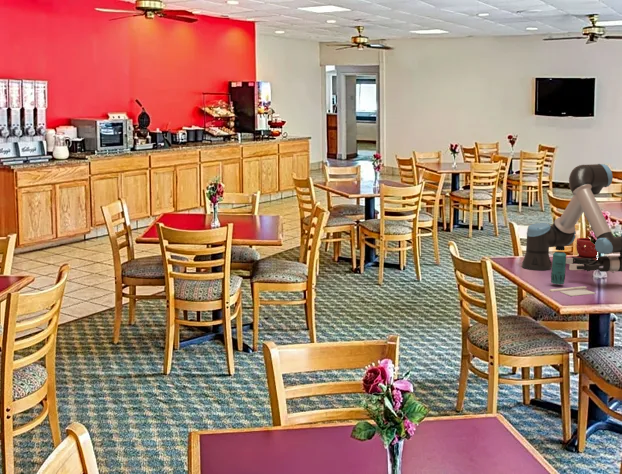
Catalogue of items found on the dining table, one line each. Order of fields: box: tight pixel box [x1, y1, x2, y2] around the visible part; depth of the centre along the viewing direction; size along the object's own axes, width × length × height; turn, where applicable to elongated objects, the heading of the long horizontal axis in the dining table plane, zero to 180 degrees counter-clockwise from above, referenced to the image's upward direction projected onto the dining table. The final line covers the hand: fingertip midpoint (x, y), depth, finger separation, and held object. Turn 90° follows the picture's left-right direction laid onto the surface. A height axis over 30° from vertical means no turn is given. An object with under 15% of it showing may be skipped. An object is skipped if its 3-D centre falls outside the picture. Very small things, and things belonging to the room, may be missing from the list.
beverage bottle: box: [550, 245, 567, 285], centre depth 383 cm, size 6×7×20 cm
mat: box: [559, 288, 597, 297], centre depth 371 cm, size 8×14×1 cm, turn 110°
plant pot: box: [576, 237, 597, 260], centre depth 443 cm, size 13×13×12 cm
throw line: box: [548, 285, 588, 293], centre depth 377 cm, size 2×20×1 cm, turn 110°
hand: (564, 264), depth 382 cm, fingers open, 13 cm apart
